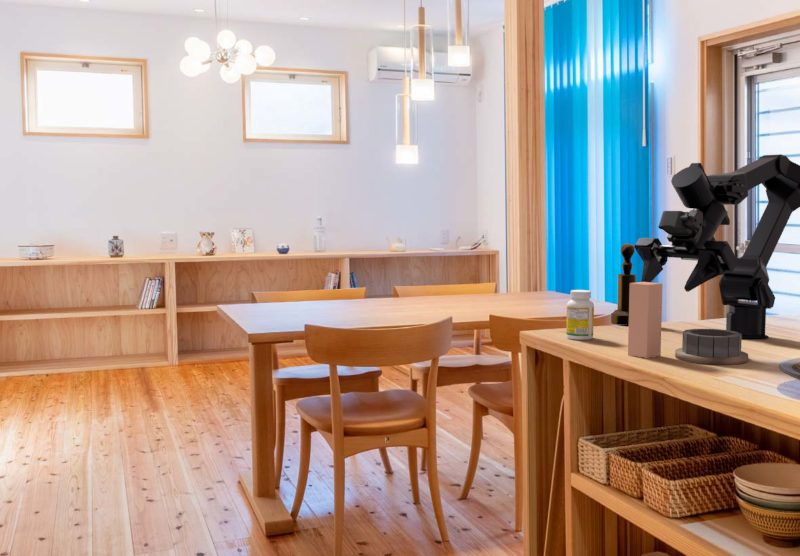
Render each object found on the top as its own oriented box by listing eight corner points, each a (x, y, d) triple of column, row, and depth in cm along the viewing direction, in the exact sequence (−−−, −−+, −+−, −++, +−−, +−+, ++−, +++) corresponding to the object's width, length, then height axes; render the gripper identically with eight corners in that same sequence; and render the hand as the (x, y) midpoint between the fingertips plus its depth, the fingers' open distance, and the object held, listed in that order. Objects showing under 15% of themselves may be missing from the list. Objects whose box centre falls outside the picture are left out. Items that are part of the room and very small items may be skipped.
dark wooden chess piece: (621, 320, 192) (622, 242, 191) (646, 323, 188) (648, 243, 186) (605, 323, 188) (607, 243, 186) (631, 326, 183) (633, 244, 181)
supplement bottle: (580, 341, 164) (581, 292, 164) (560, 337, 169) (561, 290, 168) (599, 338, 168) (599, 291, 167) (578, 335, 172) (579, 288, 171)
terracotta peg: (641, 352, 152) (643, 281, 151) (660, 355, 149) (662, 283, 147) (627, 355, 149) (629, 283, 148) (646, 358, 146) (648, 284, 145)
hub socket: (733, 352, 152) (734, 327, 152) (759, 365, 140) (760, 338, 140) (666, 351, 152) (667, 327, 152) (687, 364, 140) (688, 338, 140)
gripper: (641, 195, 160) (602, 255, 155) (730, 195, 145) (691, 260, 140) (665, 235, 166) (628, 294, 160) (753, 239, 151) (716, 303, 145)
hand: (663, 287), depth 151 cm, fingers open, 9 cm apart
